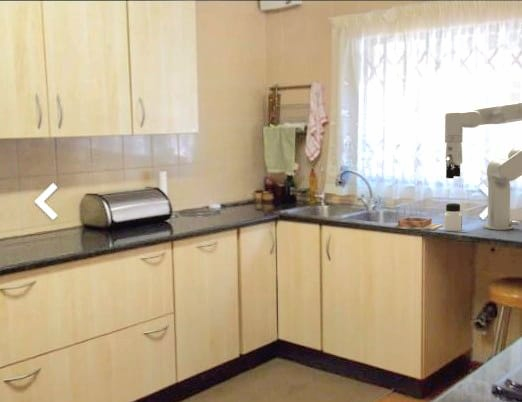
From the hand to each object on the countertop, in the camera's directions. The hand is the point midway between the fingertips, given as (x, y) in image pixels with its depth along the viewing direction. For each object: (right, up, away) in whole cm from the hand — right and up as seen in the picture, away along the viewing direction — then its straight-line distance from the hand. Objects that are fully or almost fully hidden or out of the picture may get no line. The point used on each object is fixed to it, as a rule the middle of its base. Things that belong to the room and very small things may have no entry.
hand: (453, 177), depth 292 cm
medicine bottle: (+1, -24, +3) cm, 24 cm away
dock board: (-13, -23, +12) cm, 29 cm away
